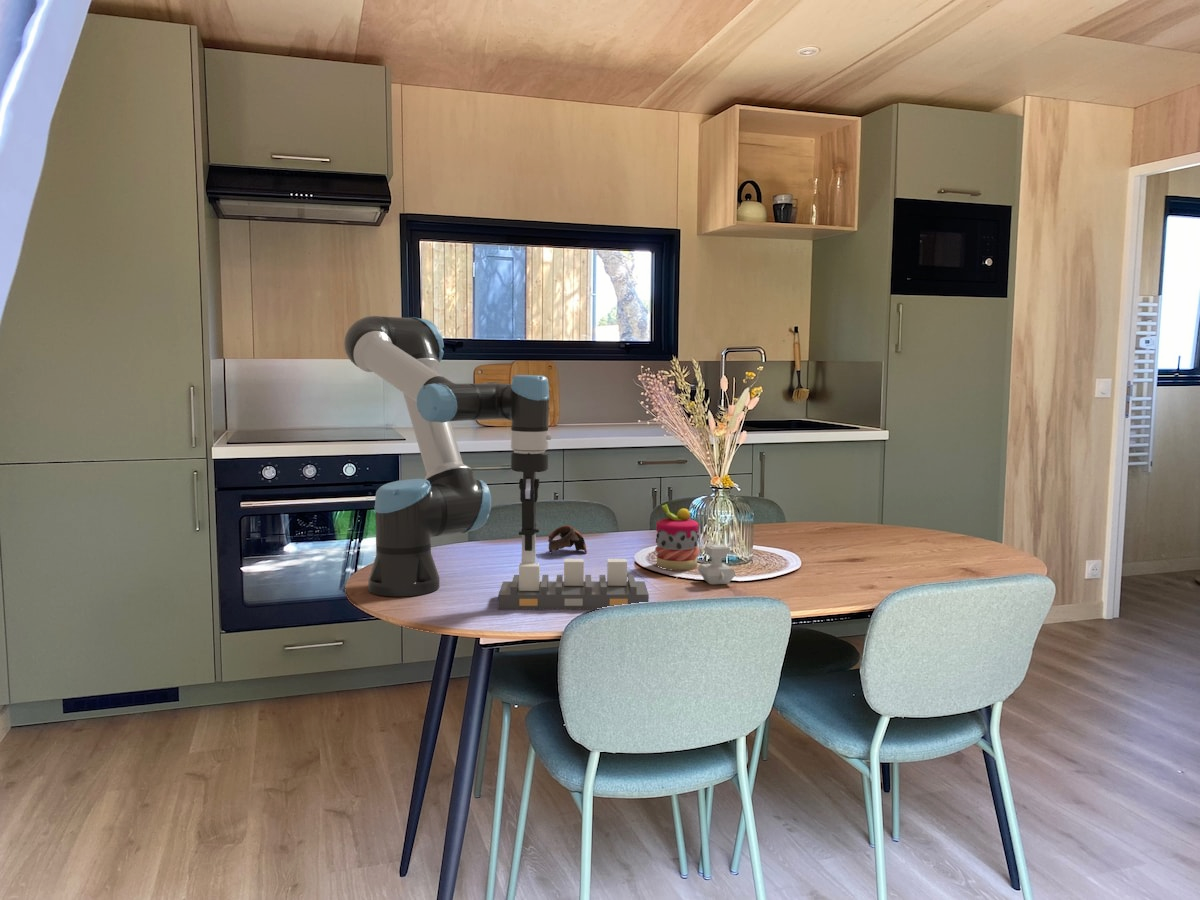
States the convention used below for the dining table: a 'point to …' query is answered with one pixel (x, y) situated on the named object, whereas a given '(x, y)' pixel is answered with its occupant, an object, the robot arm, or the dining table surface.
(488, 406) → the robot arm
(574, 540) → the brown broken ring
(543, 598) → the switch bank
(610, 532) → the dining table surface
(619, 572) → the tab right
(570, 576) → the tab middle
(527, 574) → the tab left
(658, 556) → the cake
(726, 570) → the grey angular blocky piece
